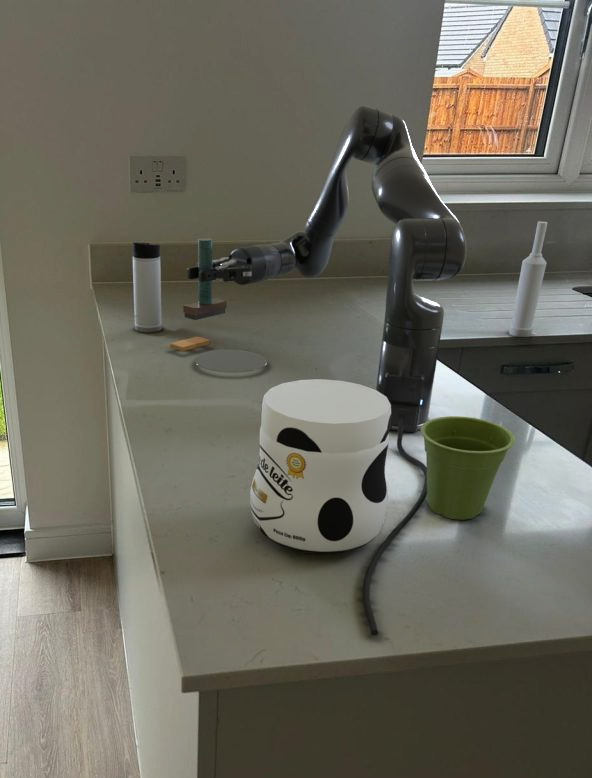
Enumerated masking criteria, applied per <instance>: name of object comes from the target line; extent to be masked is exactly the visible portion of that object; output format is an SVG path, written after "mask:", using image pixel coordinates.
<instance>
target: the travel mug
mask: <svg viewBox="0 0 592 778" xmlns="http://www.w3.org/2000/svg"><path fill="white" fill-rule="evenodd" d="M161 269H162V268H161V244H159V243H155V244H152V243H150V242H137V241H135V242H132V278H133V280H132V281H133V308H134V329H135V331H137V332H139V333H145V334H146V333H147V334H149V333H150V334H151V333H157V332H160V331H161V330H162V329H163V328H162V327H163V326H162V279H161V278H162V277H161V274H162V273H161V272H162V271H161Z"/></svg>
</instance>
